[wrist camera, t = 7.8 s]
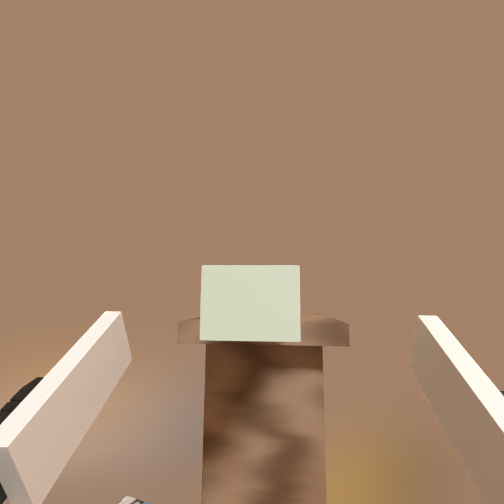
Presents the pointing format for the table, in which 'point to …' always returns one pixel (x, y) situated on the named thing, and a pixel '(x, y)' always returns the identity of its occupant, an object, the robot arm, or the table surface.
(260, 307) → the sage bar
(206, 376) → the walnut podium
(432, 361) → the robot arm
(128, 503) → the light bulb box
